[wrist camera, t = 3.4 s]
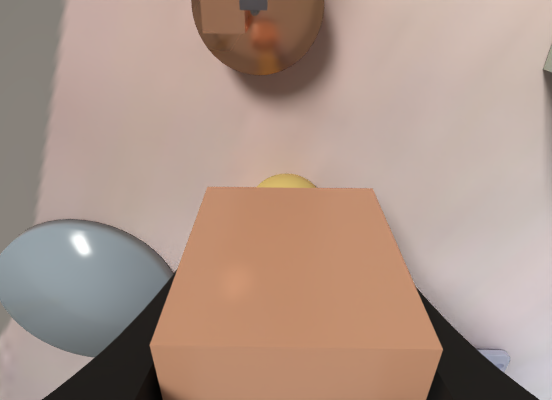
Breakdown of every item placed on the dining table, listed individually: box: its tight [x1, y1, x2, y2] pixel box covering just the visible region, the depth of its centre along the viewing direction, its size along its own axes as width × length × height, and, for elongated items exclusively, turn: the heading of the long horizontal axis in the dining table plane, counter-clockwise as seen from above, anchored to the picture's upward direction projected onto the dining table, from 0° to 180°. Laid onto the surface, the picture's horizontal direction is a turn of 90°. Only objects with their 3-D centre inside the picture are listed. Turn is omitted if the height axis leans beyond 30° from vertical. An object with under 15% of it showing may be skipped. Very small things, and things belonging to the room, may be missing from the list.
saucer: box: [0, 219, 173, 357], centre depth 20 cm, size 9×9×1 cm
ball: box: [257, 174, 316, 188], centre depth 15 cm, size 3×3×3 cm
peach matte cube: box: [150, 187, 443, 400], centre depth 11 cm, size 5×5×6 cm
